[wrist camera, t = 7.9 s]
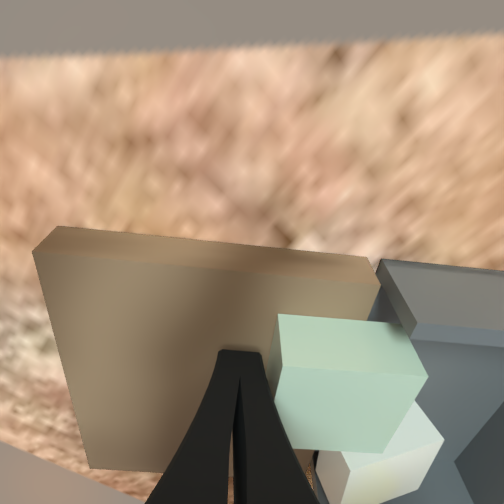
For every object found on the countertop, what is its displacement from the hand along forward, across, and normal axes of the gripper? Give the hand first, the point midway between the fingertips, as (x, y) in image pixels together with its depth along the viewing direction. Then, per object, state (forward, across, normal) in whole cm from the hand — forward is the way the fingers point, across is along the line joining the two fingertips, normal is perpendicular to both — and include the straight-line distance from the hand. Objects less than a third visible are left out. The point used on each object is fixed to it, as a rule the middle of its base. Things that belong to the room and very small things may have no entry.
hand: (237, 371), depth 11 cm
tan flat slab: (+2, +1, +2) cm, 4 cm away
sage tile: (+1, -3, 0) cm, 3 cm away
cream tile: (+1, -6, +5) cm, 8 cm away
